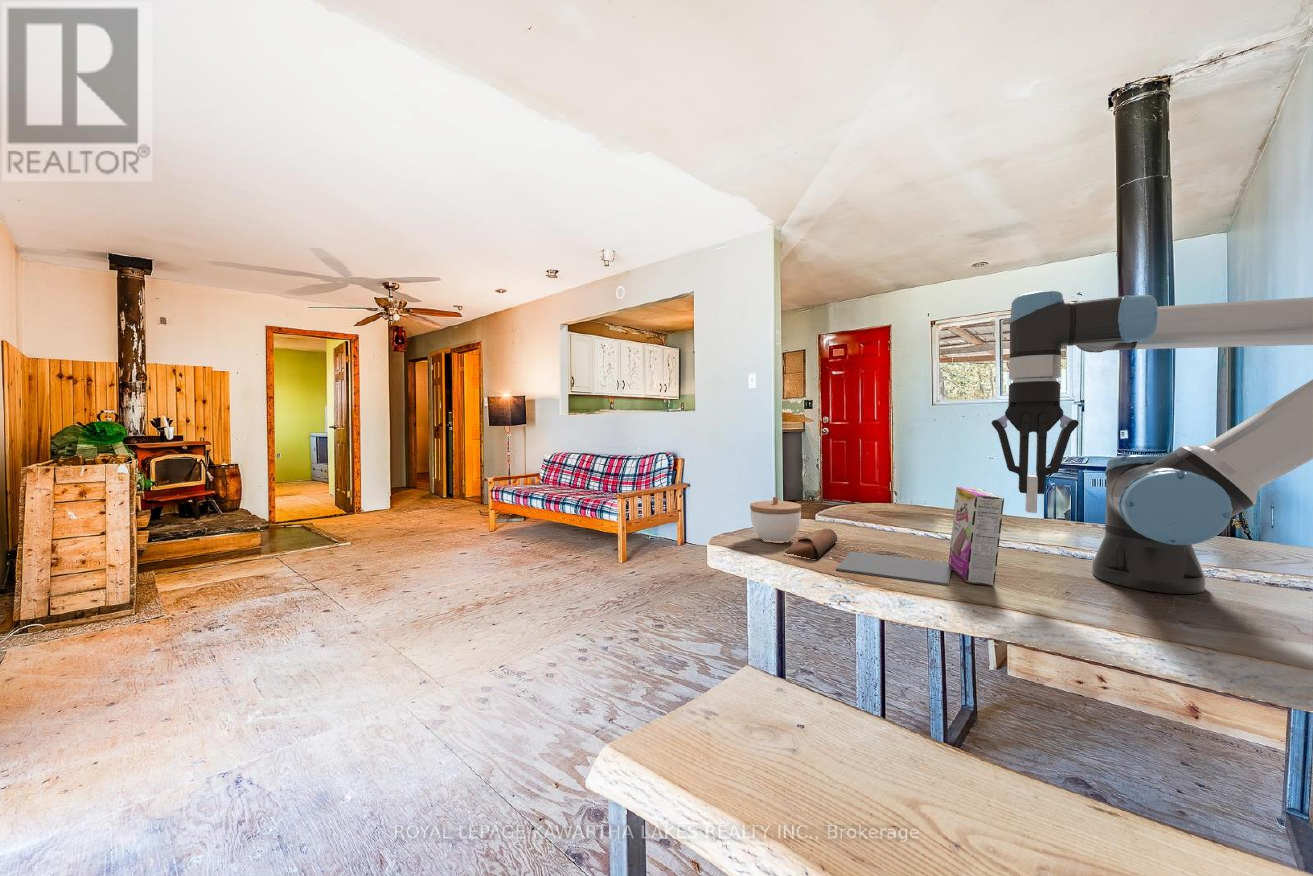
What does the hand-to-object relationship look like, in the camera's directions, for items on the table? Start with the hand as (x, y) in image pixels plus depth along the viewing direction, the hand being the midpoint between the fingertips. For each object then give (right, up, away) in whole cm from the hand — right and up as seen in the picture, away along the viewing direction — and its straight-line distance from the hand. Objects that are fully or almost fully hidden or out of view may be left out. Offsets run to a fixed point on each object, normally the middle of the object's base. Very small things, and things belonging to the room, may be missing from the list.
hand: (1031, 511), depth 95 cm
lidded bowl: (-38, -13, +37) cm, 55 cm away
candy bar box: (-8, -13, +6) cm, 16 cm away
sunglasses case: (-32, -14, +28) cm, 44 cm away
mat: (-19, -13, +12) cm, 26 cm away
